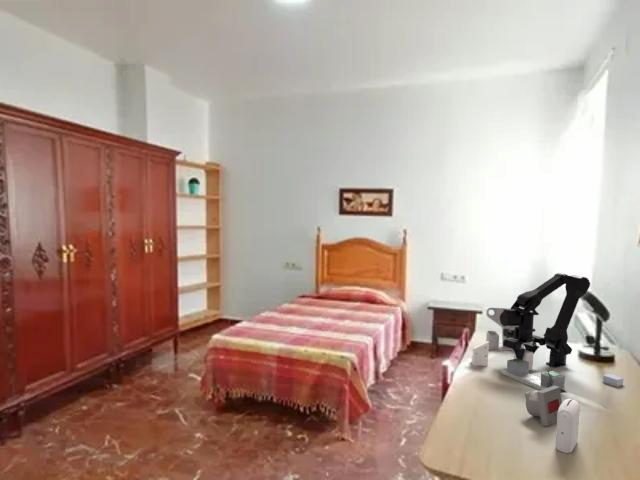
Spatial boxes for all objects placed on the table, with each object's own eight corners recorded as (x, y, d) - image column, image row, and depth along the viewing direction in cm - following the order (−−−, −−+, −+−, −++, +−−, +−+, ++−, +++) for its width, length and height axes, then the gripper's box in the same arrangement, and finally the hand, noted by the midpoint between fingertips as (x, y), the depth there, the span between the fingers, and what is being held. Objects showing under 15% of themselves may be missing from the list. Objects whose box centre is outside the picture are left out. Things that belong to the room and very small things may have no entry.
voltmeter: (568, 431, 130) (570, 398, 130) (525, 424, 134) (527, 392, 134) (555, 397, 155) (557, 369, 154) (519, 391, 159) (521, 364, 158)
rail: (514, 371, 180) (514, 355, 179) (564, 391, 160) (565, 374, 160) (501, 373, 177) (502, 358, 176) (551, 394, 157) (552, 377, 156)
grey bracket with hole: (488, 349, 209) (490, 311, 208) (484, 342, 219) (486, 306, 218) (528, 352, 206) (530, 313, 205) (522, 345, 216) (524, 309, 215)
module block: (520, 364, 188) (521, 347, 188) (532, 369, 183) (533, 352, 182) (513, 365, 187) (514, 348, 186) (525, 370, 181) (526, 353, 181)
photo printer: (571, 455, 117) (574, 409, 116) (553, 449, 120) (556, 404, 119) (579, 441, 125) (582, 397, 124) (562, 435, 128) (564, 393, 127)
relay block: (616, 390, 163) (622, 388, 165) (617, 380, 163) (623, 378, 165) (602, 385, 167) (608, 384, 169) (603, 375, 167) (608, 373, 169)
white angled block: (498, 360, 185) (489, 342, 185) (476, 371, 186) (467, 352, 186) (496, 357, 189) (486, 339, 188) (474, 368, 190) (465, 350, 190)
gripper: (524, 319, 195) (522, 354, 196) (493, 322, 187) (491, 359, 188) (547, 325, 185) (545, 362, 186) (515, 329, 177) (513, 367, 178)
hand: (523, 362), depth 185 cm, fingers open, 4 cm apart
